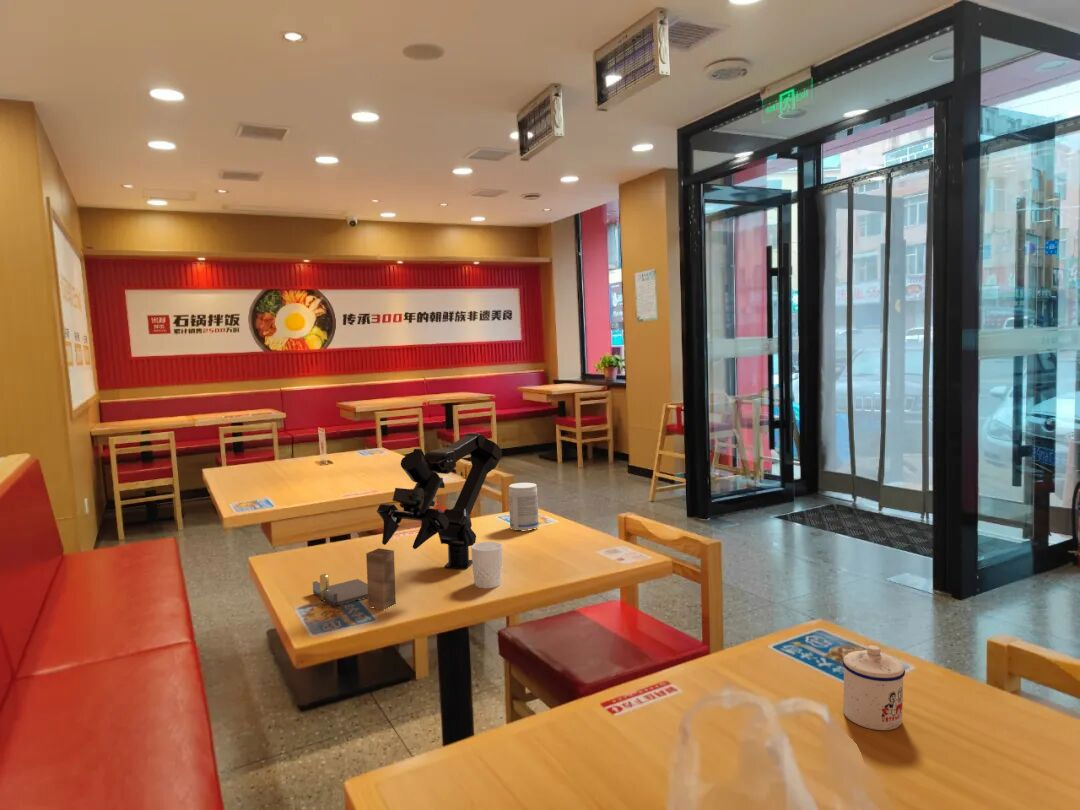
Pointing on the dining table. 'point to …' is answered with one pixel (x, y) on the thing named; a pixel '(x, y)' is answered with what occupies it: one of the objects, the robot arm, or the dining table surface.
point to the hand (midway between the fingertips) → (398, 546)
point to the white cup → (487, 564)
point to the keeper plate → (340, 590)
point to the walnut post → (381, 578)
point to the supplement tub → (523, 506)
